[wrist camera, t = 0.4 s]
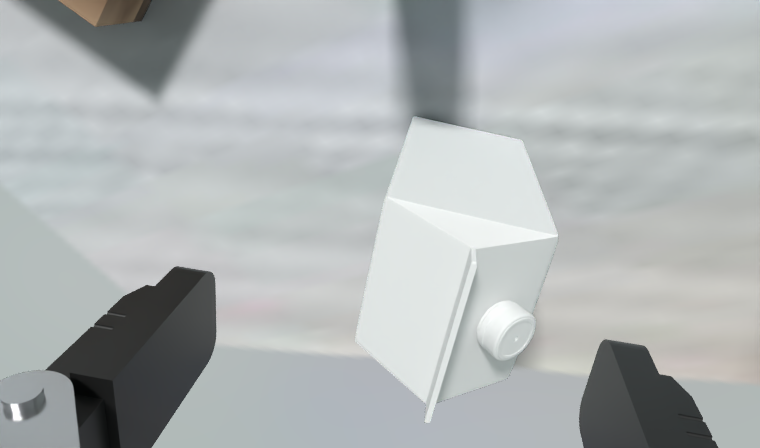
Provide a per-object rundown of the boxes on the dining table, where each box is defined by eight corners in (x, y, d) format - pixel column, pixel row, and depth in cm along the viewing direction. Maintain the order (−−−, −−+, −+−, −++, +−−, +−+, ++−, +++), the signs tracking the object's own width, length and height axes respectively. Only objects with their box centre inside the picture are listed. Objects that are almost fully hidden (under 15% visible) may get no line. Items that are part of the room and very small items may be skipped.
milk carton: (391, 215, 39) (336, 402, 22) (413, 114, 36) (369, 238, 19) (492, 238, 39) (518, 446, 22) (523, 138, 36) (581, 287, 19)
